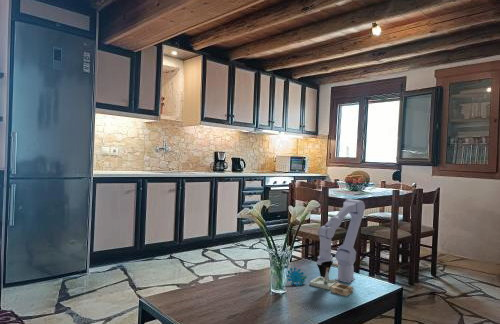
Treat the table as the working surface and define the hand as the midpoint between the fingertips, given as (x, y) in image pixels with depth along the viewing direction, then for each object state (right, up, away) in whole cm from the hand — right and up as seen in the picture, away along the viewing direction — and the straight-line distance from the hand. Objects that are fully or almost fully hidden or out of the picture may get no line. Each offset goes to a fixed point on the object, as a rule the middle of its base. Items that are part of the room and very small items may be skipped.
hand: (324, 275), depth 182 cm
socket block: (+7, -5, -9) cm, 12 cm away
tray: (0, -5, 0) cm, 5 cm away
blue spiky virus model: (-14, -5, 0) cm, 15 cm away
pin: (+1, -4, -1) cm, 4 cm away
